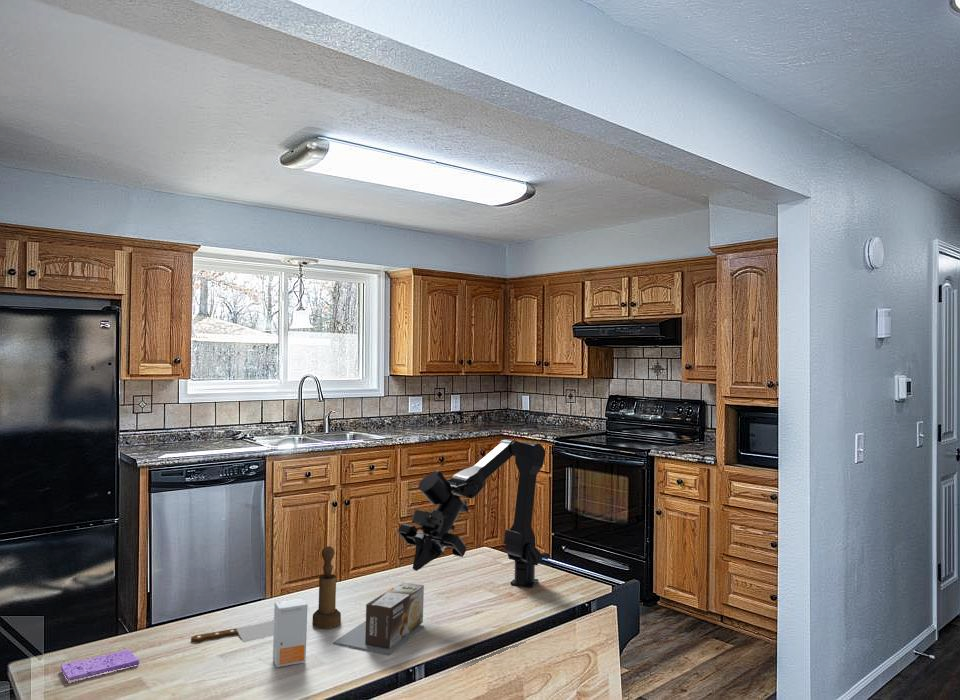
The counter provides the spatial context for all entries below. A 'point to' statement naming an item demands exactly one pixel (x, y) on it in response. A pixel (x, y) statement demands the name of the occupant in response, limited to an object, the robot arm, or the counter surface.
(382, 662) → the counter surface
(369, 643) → the coffee box
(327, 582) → the mortar and pestle
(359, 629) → the mat
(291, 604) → the skincare box
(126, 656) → the sponges
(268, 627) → the kitchen cleaver
